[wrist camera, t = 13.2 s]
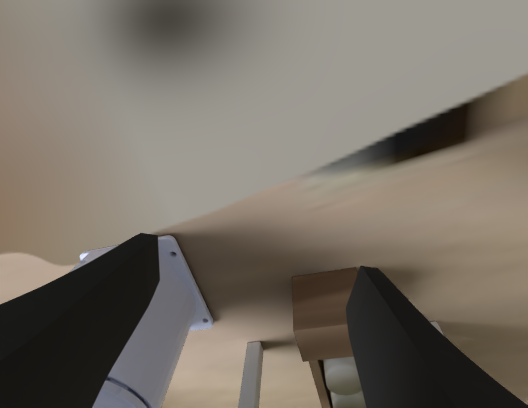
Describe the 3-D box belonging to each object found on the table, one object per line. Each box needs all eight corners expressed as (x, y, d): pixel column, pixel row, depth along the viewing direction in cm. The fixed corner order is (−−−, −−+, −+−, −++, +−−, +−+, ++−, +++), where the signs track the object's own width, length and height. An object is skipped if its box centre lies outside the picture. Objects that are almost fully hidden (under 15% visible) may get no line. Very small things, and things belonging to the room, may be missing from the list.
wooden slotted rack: (290, 276, 22) (291, 331, 18) (356, 266, 21) (374, 320, 17) (326, 403, 29) (333, 464, 25) (376, 399, 29) (393, 462, 24)
